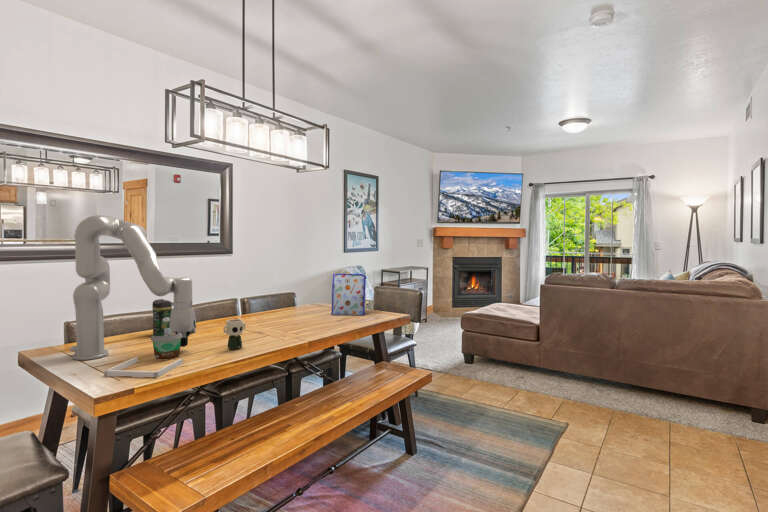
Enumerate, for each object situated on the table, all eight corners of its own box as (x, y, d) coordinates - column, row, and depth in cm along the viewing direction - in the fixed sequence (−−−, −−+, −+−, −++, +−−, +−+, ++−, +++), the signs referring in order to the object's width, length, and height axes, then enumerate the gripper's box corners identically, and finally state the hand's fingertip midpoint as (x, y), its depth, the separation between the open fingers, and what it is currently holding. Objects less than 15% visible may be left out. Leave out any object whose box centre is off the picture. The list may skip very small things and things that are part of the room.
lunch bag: (365, 311, 289) (366, 272, 288) (366, 315, 273) (366, 274, 271) (332, 311, 288) (332, 272, 287) (330, 315, 271) (331, 274, 270)
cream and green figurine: (228, 352, 186) (227, 323, 185) (219, 349, 190) (219, 321, 189) (249, 347, 194) (249, 319, 193) (241, 344, 198) (240, 317, 198)
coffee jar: (150, 335, 215) (149, 299, 215) (166, 332, 222) (165, 297, 221) (158, 338, 209) (157, 301, 208) (174, 335, 215) (174, 299, 214)
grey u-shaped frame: (104, 376, 153) (104, 370, 153) (135, 362, 170) (135, 357, 170) (156, 377, 152) (156, 372, 152) (182, 363, 169) (182, 358, 169)
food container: (154, 362, 170) (154, 338, 170) (151, 359, 175) (150, 335, 174) (186, 356, 178) (186, 333, 178) (182, 353, 183) (182, 331, 183)
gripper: (161, 306, 184) (162, 347, 185) (195, 307, 183) (195, 348, 184) (171, 303, 191) (172, 343, 192) (203, 304, 190) (204, 344, 191)
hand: (183, 346), depth 188 cm, fingers closed
